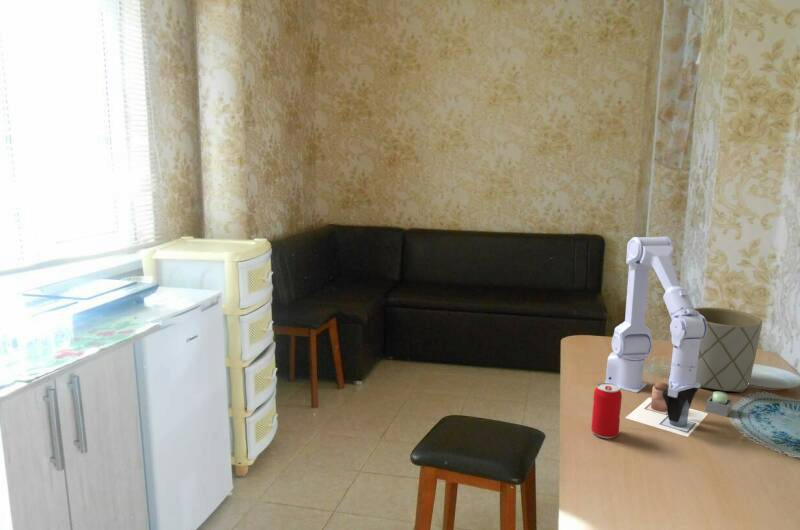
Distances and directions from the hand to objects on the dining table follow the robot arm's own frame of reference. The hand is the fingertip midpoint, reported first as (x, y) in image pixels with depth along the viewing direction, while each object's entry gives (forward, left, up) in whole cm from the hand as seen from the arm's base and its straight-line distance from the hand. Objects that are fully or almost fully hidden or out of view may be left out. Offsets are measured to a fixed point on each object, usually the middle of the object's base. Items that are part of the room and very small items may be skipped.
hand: (678, 415), depth 153 cm
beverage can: (-12, -17, -3) cm, 21 cm away
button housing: (+6, +15, -2) cm, 16 cm away
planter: (0, +36, -3) cm, 36 cm away
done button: (+6, +15, -1) cm, 16 cm away
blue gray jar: (0, 0, -2) cm, 2 cm away
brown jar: (-6, +6, -2) cm, 9 cm away
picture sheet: (-4, +3, -2) cm, 5 cm away
